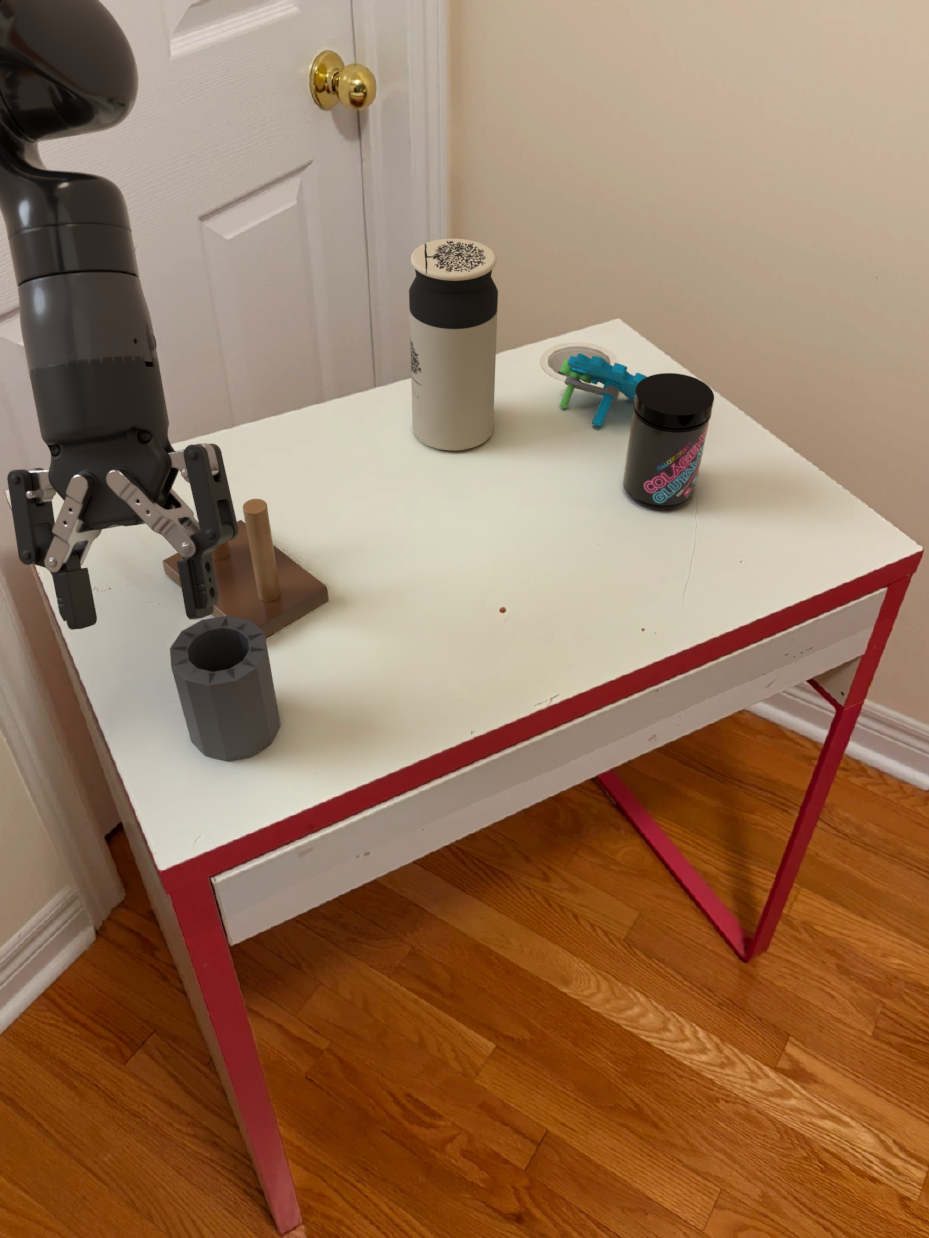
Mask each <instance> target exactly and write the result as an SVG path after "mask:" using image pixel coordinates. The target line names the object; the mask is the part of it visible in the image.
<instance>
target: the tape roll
mask: <svg viewBox="0 0 929 1238" xmlns="http://www.w3.org/2000/svg"><path fill="white" fill-rule="evenodd" d="M169 657H170V668H171V672H172V676H173V680H174V684H175V686H176V687H175V688H176V690H177V695H178V698H179V701H180V705H181V709H182V711H183V712H182V713H183V716H184V720H185V725H186V727H187V731H188V735H189V738H190V739H189V740H190V742H191V743H192V744H193V745H194V747H196V748H197V749H198V750H199V752H201V754H203V755H204V757H209V758H213V759H217V760H220V761H224V762H231V761H236V760H242V759H247V758H252V757H254V756H255V755H257V754H259V753H260V752H261V751H263V750H264V749H265V748H267V747H268V746H270V745H272V743H273V741H274V739H275V737H276V736H277V734H278V732H279V730H280V728H281V719H280V714H279V708H278V703H277V696H276V690H275V685H274V679H273V672H272V667H271V661H270V656H269V650H268V643H267V637H265V633H264V632H263V631H262V630H261V629H259V628H258V627H257V626H256V625H255V624H254V623H252V622H251V621H250V620H246V619H241V618H236V617H232V616H222V617H216V618H215V617H209V618H202V619H200V620H198V621H196V622H195V623H194V624H192V625H190V626H188V627H186V628H184V629H183V630H181V631H180V633H179V634H178V636H177V637H176V638H175V640H174V641H173V643H172V644H171V646H170V648H169Z"/></svg>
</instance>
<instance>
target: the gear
mask: <svg viewBox="0 0 929 1238" xmlns="http://www.w3.org/2000/svg"><path fill="white" fill-rule="evenodd" d="M627 370H628V367H627V366H626V365H624V364H621V363H618V362H614V364H613V365H612V364H610V363H609V362H608V361H607V360H605V358H604V357H601V356H596V355H592V356H591V358H590V357H589V356H588V355H585V354H583V353H581V352H579V353H577V354H576V356H575V355H570V356H569V359H568V358H564V360H563V362H562V365H561V367H560V369H559V373H561V374H563V375H566V378H565V379H564V382H563V383H564V384H565V385H566V386H567V387H566V389H565V392H564V394H563V396H562V399H561V401H560V404H559V407H560V408H562V409H565V410H566V409H567V407H568V405H569V402H570V401H571V398H572V395H573V393H574V392H575V391H574V390H580V391H583V392H585V393H586V392H587V393H590V394H593V395H598V396H601V397H602V398H601V399H600V402H599V405H598V407H597V410H596V412H595V414H594V417H593V419H592V422H591V424H592V425H593V426H596V427H599V428H602V427H603V424H604V422H605V419H606V417H607V415H608V412H609V410H610V407H611V405H612V403H613V400H617V398H618V396H619V394H620V393H621V394H622V395H624V396H625V397H626V398H628V399H630V400H633V401H634V398H635V391H636V387H637V385H638V383H639V382H640V381H641V380H643V379H644V378H646V377H648V376H647V375H646V374H645V375H644V374H643V373H640V372H635V375H633V374H631V373H630V372H629V371H627ZM598 383H600V384H601V385H603V387H601V386H597V385H598Z"/></svg>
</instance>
